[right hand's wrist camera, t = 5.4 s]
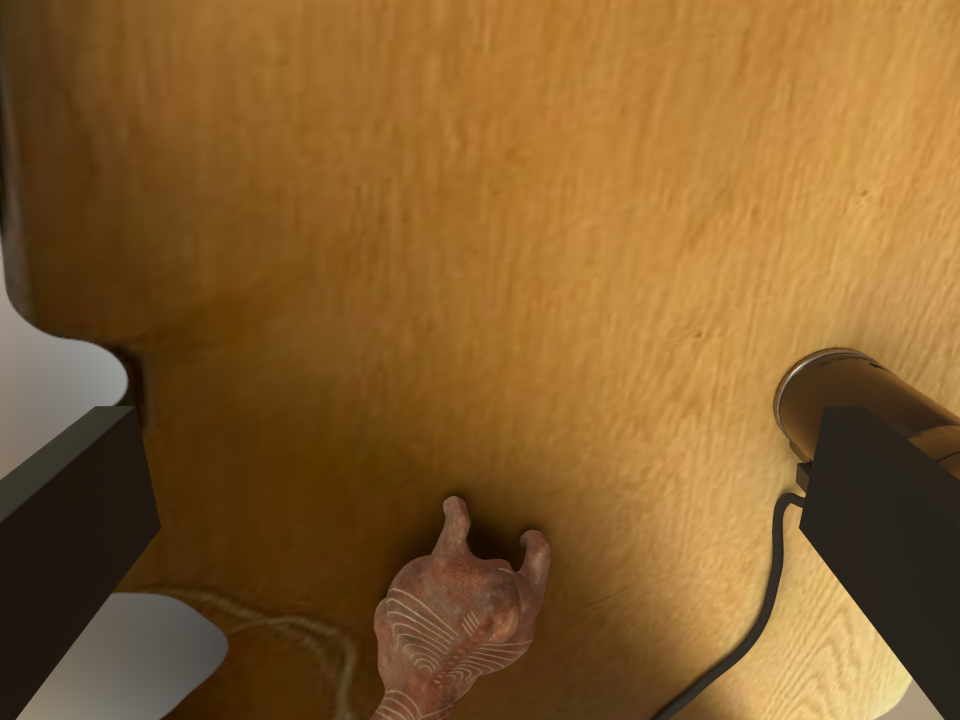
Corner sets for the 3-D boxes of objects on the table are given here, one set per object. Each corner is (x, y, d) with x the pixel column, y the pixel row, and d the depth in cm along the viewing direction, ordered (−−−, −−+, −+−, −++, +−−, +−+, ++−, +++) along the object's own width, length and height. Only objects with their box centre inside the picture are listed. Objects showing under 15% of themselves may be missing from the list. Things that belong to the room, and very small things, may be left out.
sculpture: (333, 661, 67) (294, 806, 53) (437, 475, 59) (424, 588, 45) (453, 706, 70) (447, 857, 56) (570, 533, 62) (596, 658, 48)
